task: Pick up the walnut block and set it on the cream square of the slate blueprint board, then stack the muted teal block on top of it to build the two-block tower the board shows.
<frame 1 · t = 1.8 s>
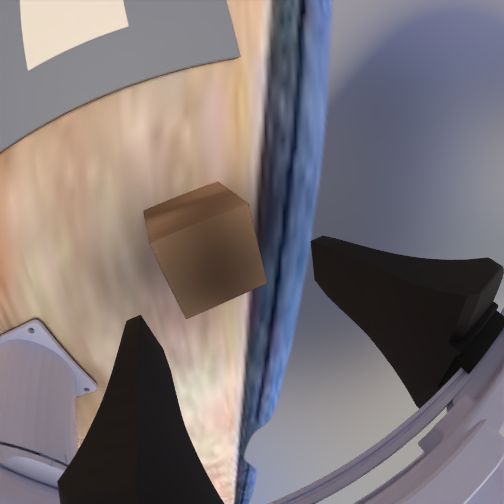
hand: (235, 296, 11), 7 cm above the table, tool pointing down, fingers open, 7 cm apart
walnut block: (192, 229, 16), on the table
blueprint board: (71, 9, 8), on the table
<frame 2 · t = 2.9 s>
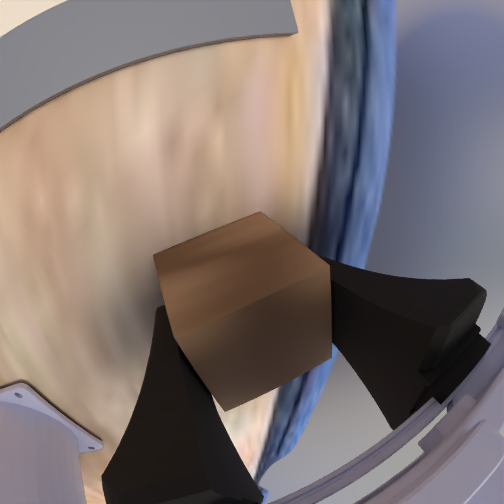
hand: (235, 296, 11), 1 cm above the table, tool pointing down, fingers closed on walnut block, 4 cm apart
walnut block: (223, 277, 12), on the table, touching gripper
when the fingers open (3 cm above the table, at t = 6.4 s): walnut block stays where it is, resting on blueprint board.
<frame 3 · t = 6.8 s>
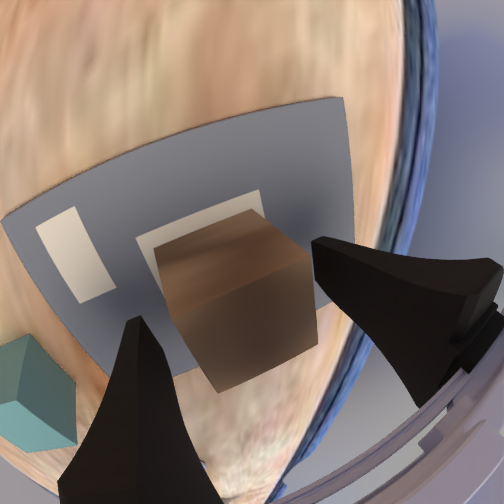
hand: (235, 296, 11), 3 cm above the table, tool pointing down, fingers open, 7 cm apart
teal block: (29, 368, 11), on the table
walnut block: (217, 270, 13), point 1 cm above the table, touching blueprint board
house plant: (217, 499, 36), on the table
blueprint board: (212, 259, 13), on the table
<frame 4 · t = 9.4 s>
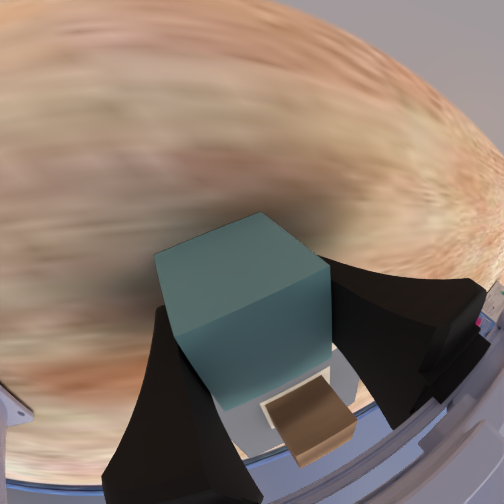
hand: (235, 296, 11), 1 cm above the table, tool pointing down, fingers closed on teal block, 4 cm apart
teal block: (223, 277, 12), on the table, touching gripper
walnut block: (296, 402, 19), point 1 cm above the table, touching blueprint board
ink cartridge box: (481, 302, 38), on the table
blueprint board: (294, 395, 19), on the table
when the fingers open (8 cm above the table, at t = 12.0 s): teal block drops 2 cm, resting on walnut block.
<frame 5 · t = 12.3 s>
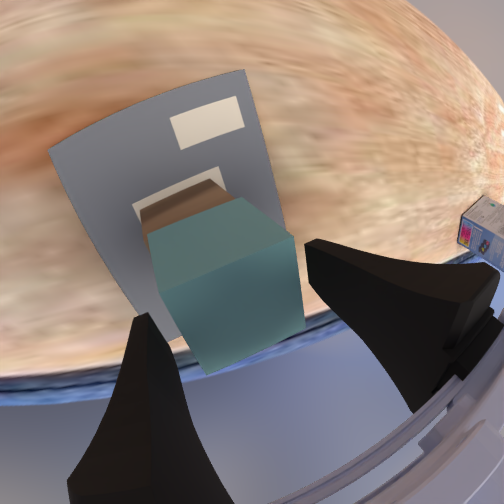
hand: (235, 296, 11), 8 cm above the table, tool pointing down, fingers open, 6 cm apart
teal block: (209, 256, 13), point 5 cm above the table, touching walnut block
walnut block: (188, 225, 17), point 1 cm above the table, touching blueprint board, teal block
ink cartridge box: (470, 218, 35), on the table
blueprint board: (189, 220, 18), on the table
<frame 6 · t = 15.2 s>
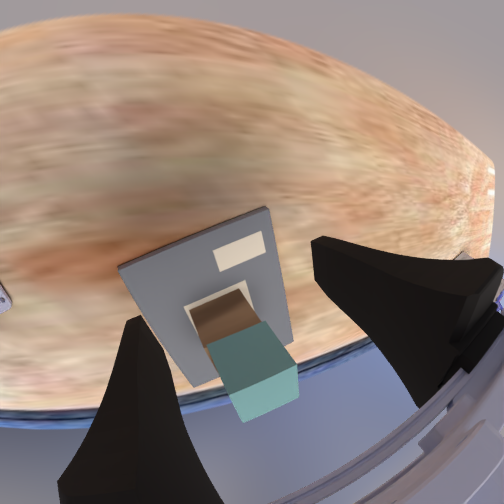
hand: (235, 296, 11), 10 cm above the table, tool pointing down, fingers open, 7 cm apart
teal block: (242, 351, 20), point 5 cm above the table, touching walnut block
walnut block: (221, 317, 24), point 1 cm above the table, touching blueprint board, teal block
blueprint board: (221, 312, 25), on the table
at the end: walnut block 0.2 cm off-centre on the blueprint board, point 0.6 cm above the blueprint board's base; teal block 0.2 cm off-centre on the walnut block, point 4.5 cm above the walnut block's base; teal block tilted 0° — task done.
